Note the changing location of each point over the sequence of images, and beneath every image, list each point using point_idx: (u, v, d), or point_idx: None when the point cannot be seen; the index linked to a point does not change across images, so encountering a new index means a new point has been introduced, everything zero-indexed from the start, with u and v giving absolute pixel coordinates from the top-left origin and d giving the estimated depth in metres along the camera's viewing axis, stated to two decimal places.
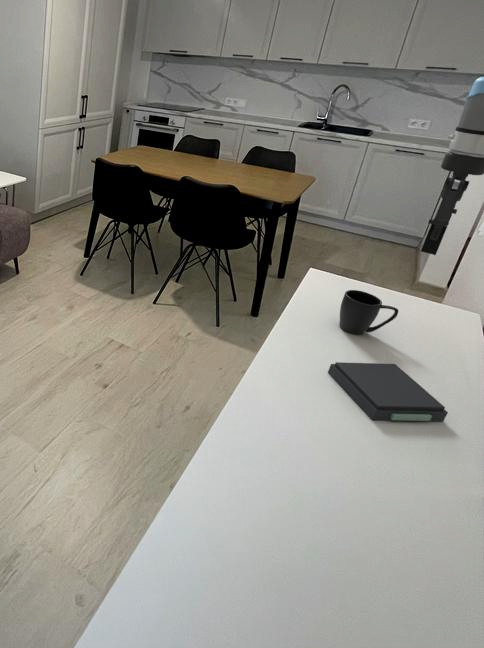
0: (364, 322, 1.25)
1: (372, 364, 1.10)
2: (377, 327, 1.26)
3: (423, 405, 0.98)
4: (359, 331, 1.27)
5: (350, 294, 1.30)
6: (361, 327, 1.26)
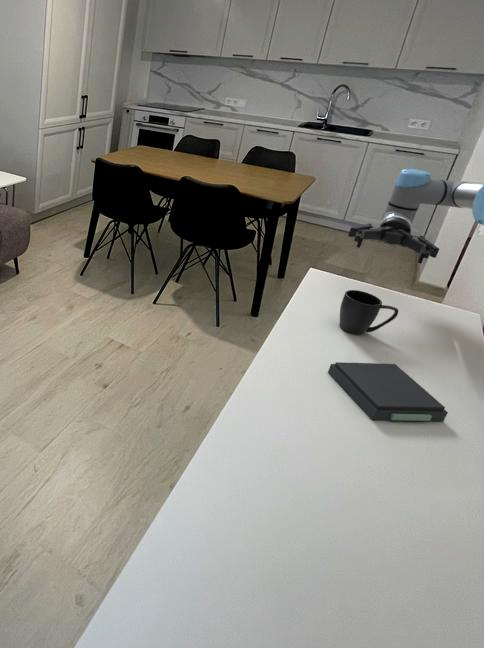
0: (364, 322, 1.25)
1: (372, 364, 1.10)
2: (377, 327, 1.26)
3: (423, 405, 0.98)
4: (359, 331, 1.27)
5: (350, 294, 1.30)
6: (361, 327, 1.26)
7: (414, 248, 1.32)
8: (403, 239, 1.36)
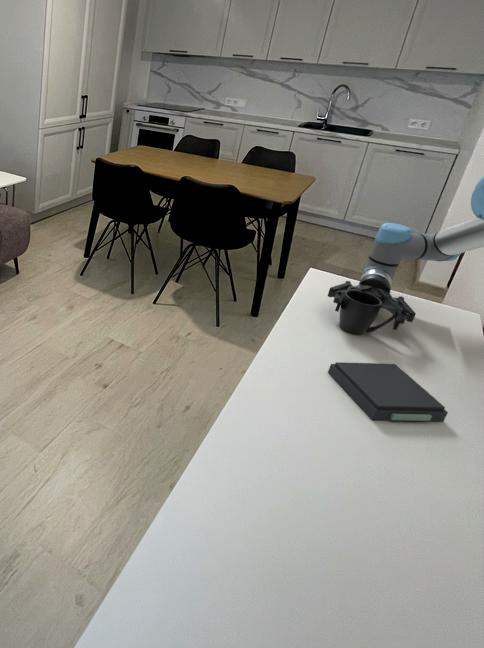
0: (364, 322, 1.25)
1: (372, 364, 1.10)
2: (377, 327, 1.26)
3: (423, 405, 0.98)
4: (359, 331, 1.27)
5: (350, 294, 1.30)
6: (361, 327, 1.26)
7: (391, 311, 1.28)
8: (382, 300, 1.32)
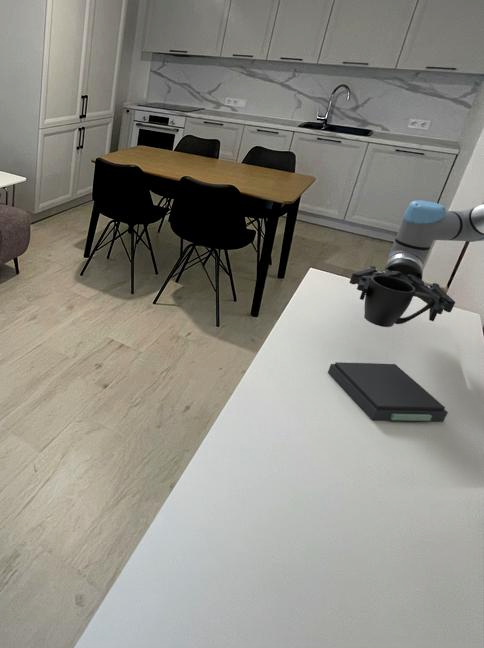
0: (394, 312, 1.07)
1: (372, 364, 1.10)
2: (409, 318, 1.08)
3: (423, 405, 0.98)
4: (388, 323, 1.09)
5: (377, 280, 1.12)
6: (391, 318, 1.08)
7: (425, 299, 1.10)
8: None
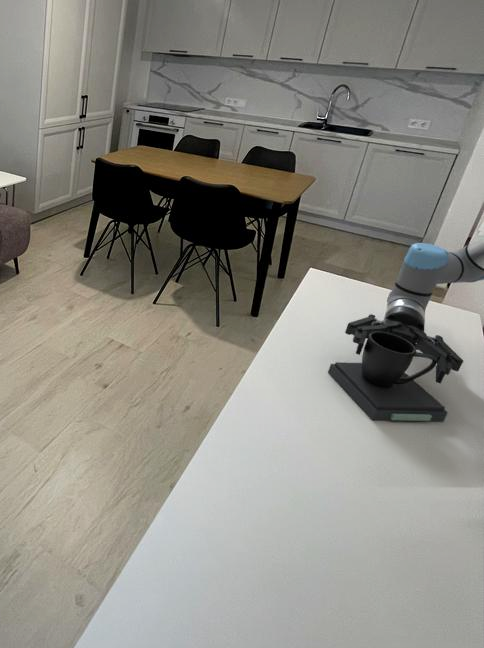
0: (394, 374, 1.00)
1: None
2: (409, 379, 1.01)
3: (423, 405, 0.98)
4: (387, 384, 1.02)
5: (375, 336, 1.05)
6: (390, 379, 1.01)
7: None
8: (415, 340, 1.07)
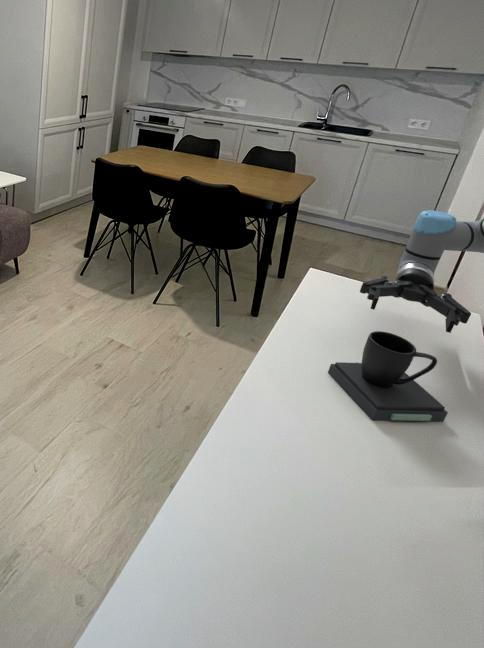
0: (394, 374, 1.00)
1: None
2: (409, 379, 1.01)
3: (423, 405, 0.98)
4: (387, 384, 1.02)
5: (375, 336, 1.05)
6: (390, 379, 1.01)
7: (440, 310, 1.11)
8: (426, 297, 1.14)
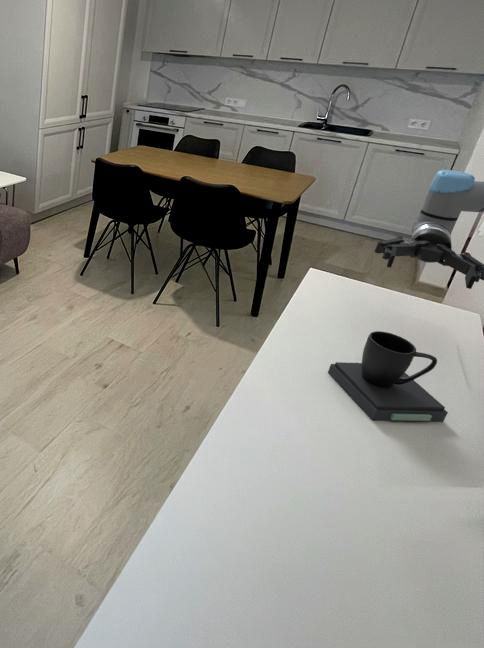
0: (394, 374, 1.00)
1: None
2: (409, 379, 1.01)
3: (423, 405, 0.98)
4: (387, 384, 1.02)
5: (375, 336, 1.05)
6: (390, 379, 1.01)
7: (458, 268, 1.06)
8: (443, 256, 1.10)
